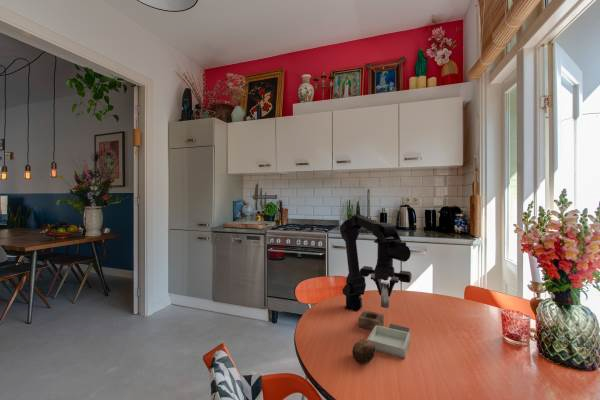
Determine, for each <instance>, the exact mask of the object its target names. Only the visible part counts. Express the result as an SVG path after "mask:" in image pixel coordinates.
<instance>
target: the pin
mask: <svg viewBox="0 0 600 400" xmlns="http://www.w3.org/2000/svg"><path fill="white" fill-rule="evenodd" d="M389 285H390V282H387V281H386V282H385V281H383V282H382V281H381V295H380V307H381V308H383V309H388V308H390V297H389Z"/></svg>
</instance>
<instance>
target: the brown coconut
mask: <svg viewBox="0 0 600 400" xmlns="http://www.w3.org/2000/svg"><path fill="white" fill-rule="evenodd" d="M351 353H352V354H351V355H352V357H353V359H354V361H355V363H358V364H360V365H366V364H368V363H370V361H371V360H372V359H374V358H375V356H376V354H375V353H376V351H375V345H374V344H373V343H372V342H371V341H367V339H366V340H365V339H360V340H359V341H356V342H355V343H354V344H353V346H352V351H351Z"/></svg>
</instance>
